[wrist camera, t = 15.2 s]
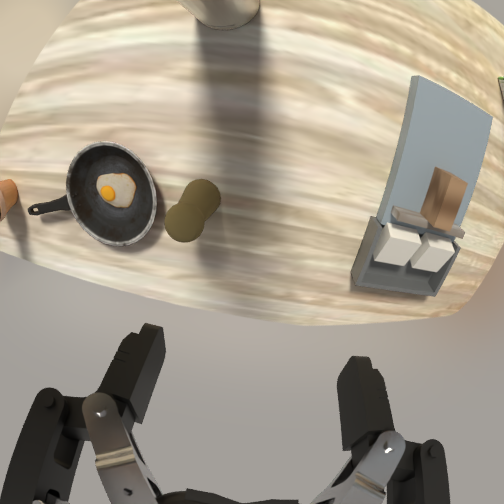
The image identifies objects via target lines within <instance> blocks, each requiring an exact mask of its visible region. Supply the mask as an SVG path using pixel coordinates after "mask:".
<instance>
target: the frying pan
mask: <svg viewBox="0 0 504 504" xmlns="http://www.w3.org/2000/svg"><path fill="white" fill-rule="evenodd" d="M66 193H67V194H66V195H65V196H63V197H61V198H60V199H56V200H53V201H50V202H45V203H39V204H34V205H32V206H31V207H29V208H28V212H29V214H30V215H40V214H44V213H48V212H53V211H58V210H71V211H72V213H73V215H74V217H75V219H76V220H77V222H78V223H79V224H80V226H81V227H82V228H83V229H84V230H85V231H86V232H87V233H88V234H89V235H90V236H92V237H93V238H95V239H96V240H98V241H100V242H102V243H104V244H108V245H112V246H126V245H130V244H133V243H135V242H137V241H139V240H140V239H142V238H143V237H144V236H145V235H146V234H147V232H148V231H149V230H150V228H151V226H152V224H153V222H154V218H155V215H156V207H157V198H156V190H155V187H154V183H153V180H152V177H151V175H150V173H149V171H148V169H147V168H146V166H145V165H144V164H143V162H142V161H141V159H140V158H139V157H138V156H137V155H136V154H134V153H133V152H132V151H131V150H129V149H128V148H126V147H125V146H123V145H120V144H117V143H115V142H109V141H100V142H94V143H92V144H90V145H87V146H86V147H84V148H83V149H82V150H80V151H79V152H78V154H77V155H76V156H75V157H74V159H73V160H72V162H71V164H70V167H69V170H68V173H67V180H66ZM33 208H38V211H35V212H34V210H33Z"/></svg>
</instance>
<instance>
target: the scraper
mask: <svg viewBox="0 0 504 504" xmlns="http://www.w3.org/2000/svg"><path fill="white" fill-rule="evenodd" d="M467 185H468V183H467V182H465V181H464V180H462V179H460V178H459V177H457V176H455V175H454V174H452V173H450V172H448V171H445V170H443V169H440V168H438V167H435V168H434V172H433V175H432V178H431V181H430V185H429V188H428V191H427V194H426V197H425V200H424V202H423V205H422V208H421V211H420V213H419V212H415V211H412V210H408V209H405V208H401V207H397V206H394V205H393V207H392V210H391V213H392V215H393V216H394V217H395V218H396V219H397V221H401V222H404V223H408V224H412V225H416V226H420V227H423V228H427V229H431V230H434V231H438V232H441V233H445V234H448V235H452V236H455V237H458V238H462V239H463V236H464V234H465V232H464V231H463V230H462V229H461V228H460V227H459V226H458V225H457V224H454V220H455V218H456V215H457V213H458V210H459V208H460V205H461V202H462V199H463V196H464V194H465V191H466V188H467Z"/></svg>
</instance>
